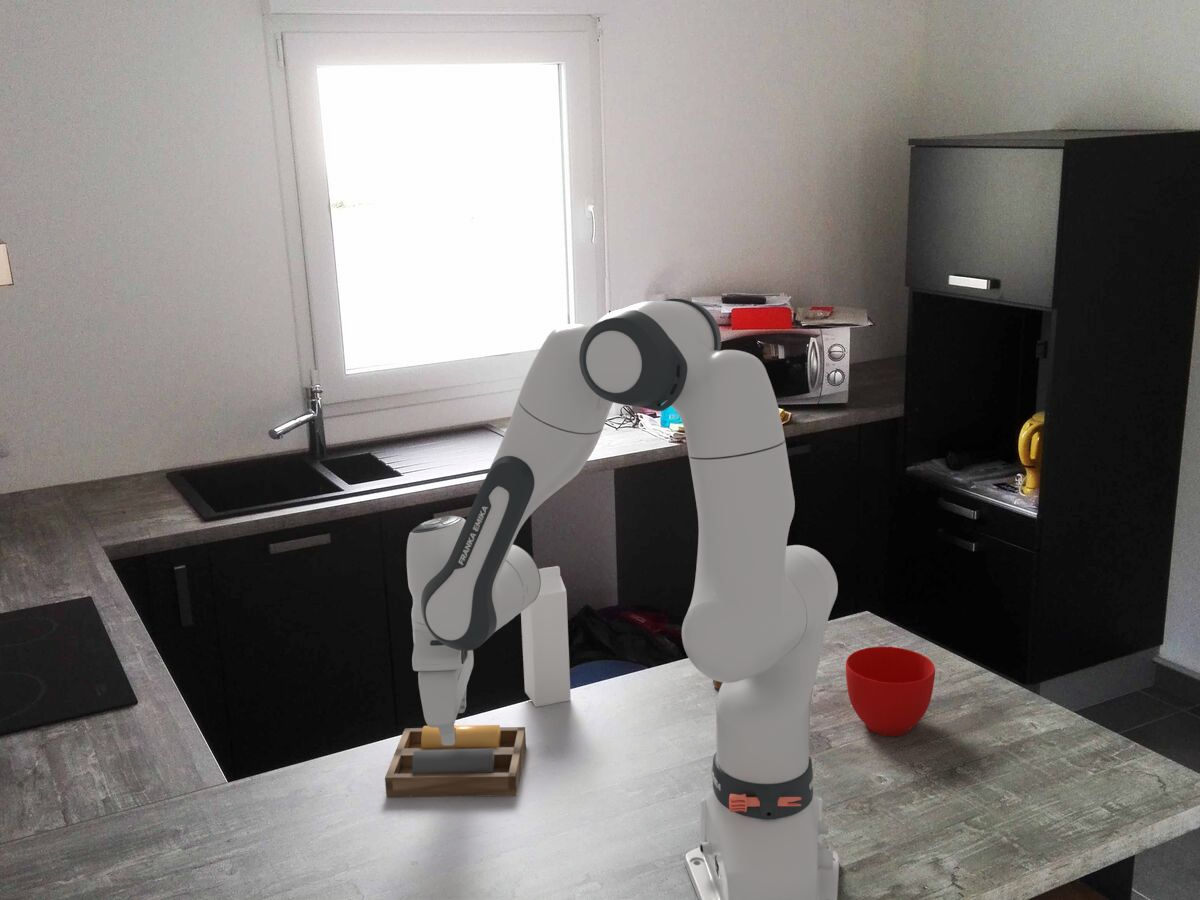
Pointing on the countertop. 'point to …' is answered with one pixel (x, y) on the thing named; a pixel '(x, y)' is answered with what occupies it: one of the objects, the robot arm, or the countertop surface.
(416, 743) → the slot rack
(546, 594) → the milk
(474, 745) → the orange rod
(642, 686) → the countertop surface
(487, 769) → the charcoal rod
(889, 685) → the ceramic cup
